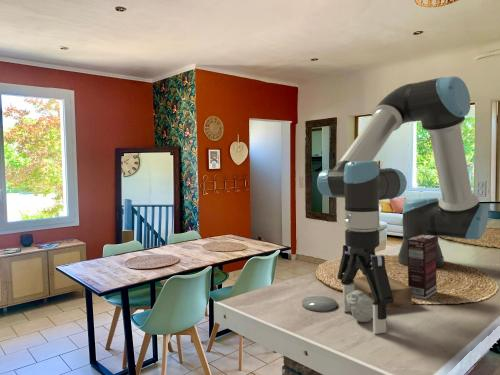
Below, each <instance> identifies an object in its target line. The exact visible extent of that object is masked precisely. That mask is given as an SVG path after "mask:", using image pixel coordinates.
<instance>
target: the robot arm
mask: <svg viewBox="0 0 500 375" xmlns="http://www.w3.org/2000/svg"><path fill="white" fill-rule="evenodd" d="M470 102H471V95H470V92H469V88H468V86H467V84H466V83H465V81H464V80H463V79H461V78H460V77H458V76H453V75H452V76H446V77H444V76H443V77H441V76H440V77H438V78H434V79H428V80H424V81H418V82H413V83H406V84H404V85H401V86H399V87H397V88H396V89H394V90H393V91H391V92H390V93H388V94H387V95H386V96H385V97H383V98H382V99H381V101H379V103H378V104H377V105H376V106H375V107H374V109H373V110H372V112H371V118H370V119H369V121H368V123H366V125H365V126H364V128H363V129H362V130H361V131H360V133H359V134H358V135H357V137H356V138H355V139H354V141H353V142H352V144H350V146H349V147H348V149H347V150H346V151H345V153H344V154H343V155H342V157H341V158H340V160H338V162H337V164H336V165H335V166H334V167H333V169H332V168H328V169H323V170H322V171H320V172H319V173H318V176H317V180H316V184H317V185H316V186H317V190H318V192H319V193H320V194H321V195H322V196H324V197H329V198H330V197H331V198H336V199H337V198H343V199H344V216H343V218H344V226H345V227H346V229H345V231H344V241H345V242H344V243H345V244H344V245H343V246H342V254H341V259H340V264H339V267H338V273H337V280H340V282H341V284H342V307H343V308H342V309H343V310H342V311H343V312H345V313H346V312H352V311H351V308H349V306H348V303H347V300H346V295H348V294H349V293H352V292H353V291H354V284H350V283H354V280H353V279H354V278H356V275H357V274H358V272H359V270H360V271H361V272H362V274H363V276H364V277H366V278H367V281H368V284H369V286H370V289H371V292H372V294H373V297H374V300H375V302H373V317H372V332H373V334H374V335H378V334H384V333H387V318H388V316H387V314H388V312H387V311H388V309H387V304H390V303H394V299H393V295H392V291H391V287H390V284H389V280H388V277H389V276H388V273H387V272H388V271H387V269H386V257H385V256H384V255H376V248H378V247H379V246H380V231H379V229H378V228H380V201H383V200H384V201H385V200H394V199H395V198H398V197H400V196H402V195H403V194H404V193H405V191H406V189H407V185H408V184H407V183H408V182H407V177H406V176H405V175H404V173H403V172H402V171H401V170H398V169H397V168H393V167H388V168H387V167H386V168H379V164H378V161H375V158H376V156H377V155H378V153H379V152H380V151H381V150H382V148H383V146H384V145H385V143H387V141H388V139H389V138H390V136H391V135H392V133H393V132H395V131H398V129H400V128H401V126H402V125H403V124H406V123H410V122H421V127H422V129H423V131H426V132H428V133H429V134H428V135H429V139H430V144H431V149H432V152H433V153H432V154H433V158H434V163H435V164H434V165H435V168H436V173H437V178H438V183H439V187H440V192H441V198H440V199H438V197H427V198H420V199H419V198H418V199H417V198H416V199H410V200H406V201H404V202H403V204H402V213H401V214H402V242H401V246H400V248H399V253H398V254H397V261H398V263H399V264H401V265H405V266H407V267H408V240H407V239H410V238H412V237H415V236H418V235H431V236H436V268H439V267H443V266H444V265H445V258H444V255H443V252H442V250H441V246H440V243H439V237H444V238H446V237H447V238H455V239H462V240H474V241H476V240H479V239H481V238H482V237H483V235H484V234H485V231H486V228H487V224H488V219H489V218H488V217H489V208H488V206H487V205H486V204H483V203H480V201H479V197H478V196H477V195H476V194H475V193H472V192H473V191H472V186H471V181H470V180H471V179H470V174H469V169H468V163H467V157H466V152H465V147H464V146H465V145H464V140H463V134H462V129H461V128H462V127H461V125H462V124H463V123H464V122H465V121H466V118H465V117H466V116H468V114H470V110H471V103H470ZM387 297H388V298H387Z"/></svg>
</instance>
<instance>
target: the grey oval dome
mask: <svg viewBox="0 0 500 375" xmlns="http://www.w3.org/2000/svg"><path fill="white" fill-rule="evenodd" d="M301 306H302V308H304V309H306V310H308V311H312V312H323V313H324V312H330V311H333V310H335V309H336V308H338V307H337V306H338V302H337V300H335V298H332V297H328V296H324V295H313V296H307V297H304V298H303V299H302V300H301Z"/></svg>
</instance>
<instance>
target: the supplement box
mask: <svg viewBox="0 0 500 375" xmlns="http://www.w3.org/2000/svg"><path fill="white" fill-rule="evenodd" d="M407 240H408V266H407V271H408V272H407V279H408V280H407V284H408V285H407V286H409V287H411V288H412V298H416V299H420V300H427V299H428V298H430V297H431V296H433V295H434V294H435V293H437V290H438V288H437V267H436V236H431V235H418V236H415V237H412V238H410V239H407Z"/></svg>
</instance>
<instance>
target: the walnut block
mask: <svg viewBox="0 0 500 375" xmlns="http://www.w3.org/2000/svg"><path fill="white" fill-rule="evenodd" d="M353 280H354V283H350V284H354V291H355V290H359V291H362V292H363V293H364V294H365V295H367V296H369V297H370V298H371V299H372V300H373V301H374V302H375V300H374V297H373V294H372V292H371V289H370V286H369V284H368V281H367V278H366V276H364V277H363V276H361V277H355V278H354V279H353ZM388 280H389V284H390V287H391V291H392V295H393V299H394V303H390V304H387V310H388V309H390V310H391V309H395V308H396V309H397V308H404V307H405V308H406V307H412V305H413V304H412V303H413V301H412V300H413V297H412V288H411V287H409V286H408V285H407V284H405V283H403V282H401V281H398V280H396V279H394V278H392V277H390V276H388ZM387 298H388V297H387Z"/></svg>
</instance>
